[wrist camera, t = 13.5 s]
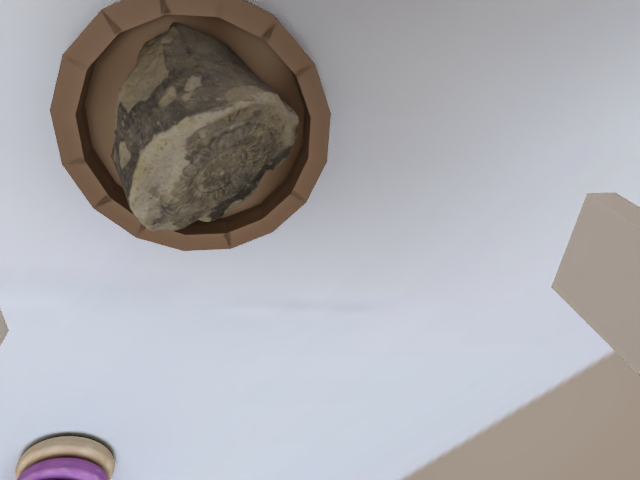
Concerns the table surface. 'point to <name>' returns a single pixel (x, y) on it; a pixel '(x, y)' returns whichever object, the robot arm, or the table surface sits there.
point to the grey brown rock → (195, 130)
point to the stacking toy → (66, 460)
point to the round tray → (114, 68)
